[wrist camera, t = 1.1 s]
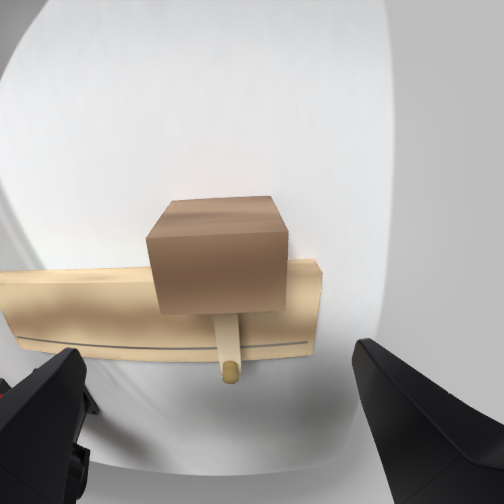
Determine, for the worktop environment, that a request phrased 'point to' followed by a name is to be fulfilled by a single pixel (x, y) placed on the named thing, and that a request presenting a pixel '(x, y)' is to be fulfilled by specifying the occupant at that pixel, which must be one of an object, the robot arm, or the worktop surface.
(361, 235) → the worktop surface
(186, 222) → the brown block with rod
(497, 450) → the robot arm
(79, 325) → the board
